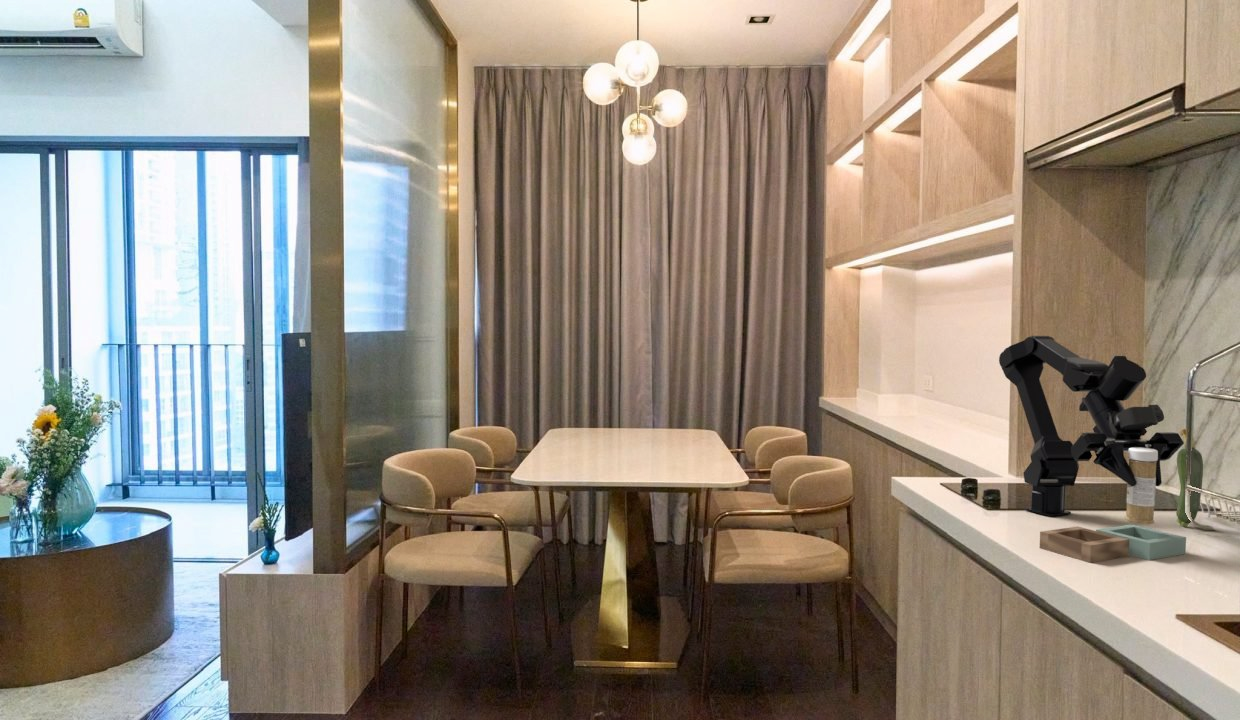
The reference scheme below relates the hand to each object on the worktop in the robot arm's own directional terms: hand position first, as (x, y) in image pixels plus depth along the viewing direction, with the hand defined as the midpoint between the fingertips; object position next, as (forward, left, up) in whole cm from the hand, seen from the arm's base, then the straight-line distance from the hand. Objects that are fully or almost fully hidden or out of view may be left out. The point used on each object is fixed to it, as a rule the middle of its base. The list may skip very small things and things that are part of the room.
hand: (1146, 485), depth 150 cm
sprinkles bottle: (0, -1, -7) cm, 7 cm away
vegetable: (-25, -8, -12) cm, 29 cm away
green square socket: (0, -1, -12) cm, 12 cm away
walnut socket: (+11, -4, -12) cm, 17 cm away
